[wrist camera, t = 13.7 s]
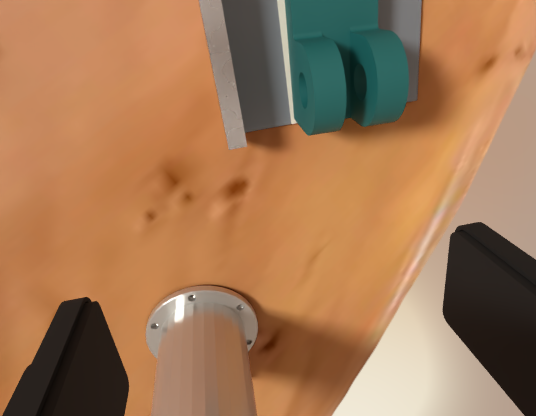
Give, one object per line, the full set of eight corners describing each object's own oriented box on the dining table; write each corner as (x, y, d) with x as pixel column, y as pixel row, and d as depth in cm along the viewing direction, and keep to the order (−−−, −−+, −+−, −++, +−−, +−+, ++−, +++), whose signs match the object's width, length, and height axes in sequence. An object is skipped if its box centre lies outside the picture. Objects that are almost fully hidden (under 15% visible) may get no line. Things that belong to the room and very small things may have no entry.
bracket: (366, 107, 36) (405, 132, 29) (294, 118, 35) (317, 147, 28) (368, -151, 27) (426, -201, 20) (273, -141, 27) (299, -190, 20)
